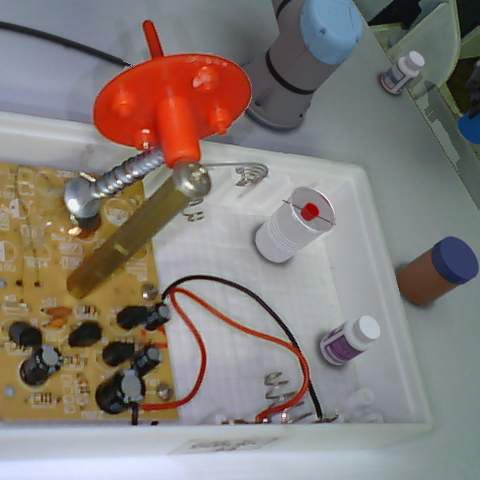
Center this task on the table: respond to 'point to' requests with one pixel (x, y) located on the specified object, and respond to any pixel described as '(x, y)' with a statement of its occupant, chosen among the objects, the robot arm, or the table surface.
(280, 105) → the robot arm
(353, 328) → the pill bottle
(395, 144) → the table surface
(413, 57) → the pill bottle
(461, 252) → the lid
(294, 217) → the striped cup with float
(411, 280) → the jar
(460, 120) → the beverage can
